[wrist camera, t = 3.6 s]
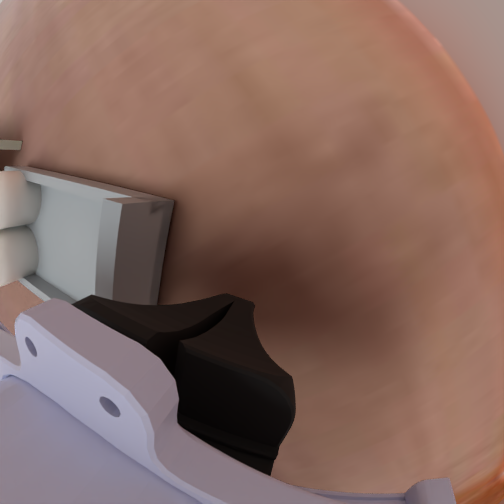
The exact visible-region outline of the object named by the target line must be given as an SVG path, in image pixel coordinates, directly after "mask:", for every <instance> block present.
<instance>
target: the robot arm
mask: <svg viewBox="0 0 504 504" xmlns="http://www.w3.org/2000/svg"><path fill="white" fill-rule="evenodd" d="M254 308H255V305H254V303H253V302H251V301H248V300H245V299H242V298H239V297H236V296H233V295H230V294H227V293H226V294H221V295H217V296H213V297H210V298H206V299H202V300H198V301H193V302H187V303H182V304H173V305H141V304H132V303H125V302H119V301H114V300H110V299H107V298H103V297H99V296H95V295H92V294H91V295H89V296H87V297H85V298H83V299H81V300H79V301H77V302H75V303H73V304H69V303H68V302H66V301H63V300H60V299H56V298H52V299H50V300H48V301H46V302H43V303H41V304H39V305H37V306H34V307H32V308H30V309H28V310H26V311H23V312H21V313H20V314H19V316H18V317H17V318H16V320H15V336H14V335H13V334H12V333H11V332H10V331H9V330H8V329H7V328H6V327H5V326H4V325H3V324H2V323H1V322H0V504H456V501H455V497H454V493H453V490H452V486H451V482H450V479H449V478H438V479H427V480H422V481H420V482H418V483H416V484H414V485H413V486H412V487H411V488H409V489H408V490H407V491H406V492H405V493H395V494H368V493H348V492H336V491H327V490H319V489H312V488H306V487H300V486H294V485H290V484H287V483H285V482H282V481H280V480H278V479H275V478H273V477H271V476H270V475H271V471H272V467H273V463H274V460H275V459H276V457H277V455H278V450H279V446H280V444H281V443H282V441H283V440H284V438H285V436H286V435H287V433H288V431H289V430H290V428H291V426H292V424H293V421H294V418H295V410H296V403H295V390H294V384H293V379H292V376H291V375H289V374H288V373H287V372H285V371H284V370H283V369H282V368H280V367H279V366H278V365H277V364H276V363H275V362H274V361H273V360H272V359H271V358H270V357H269V355H268V354H267V353H266V351H265V350H264V348H263V347H262V345H261V343H260V341H259V338H258V336H257V333H256V329H255V325H254V318H253V311H254Z"/></svg>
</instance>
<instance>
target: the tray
mask: <svg viewBox="0 0 504 504" xmlns="http://www.w3.org/2000/svg"><path fill="white" fill-rule="evenodd" d="M173 205H174V200H170V199H166V198H162V197H158V196H155V195H151V194H147V193H143V192H139V191H134V190H130V189H126V188H122V187H118V186H114V185H110V184H105V183H101V182H97V181H93V180H88V179H84V178H79V177H75V176H70V175H66V174H61V173H57V172H52V171H47V170H43V169H38V168H33V167H28V166H5V168H4V171H0V287H1V286H4V285H6V284H9V283H12V282H15V281H19V282H20V283H22V284H23V285H24V286H25V287H27V288H28V289H29V290H30V291H32V292H33V293H34V294H35V295H37V296H38V297H39V298H41V299H42V300H43V301H45V302H46V301H48V300H50V299H52V298H56V299H60V300H63V301H66V302H68V303H69V304H73V303H75V302H77V301H79V300H81V299H83V298H85V297H87V296H89V295H91V294H92V295H95V296H99V297H103V298H107V299H110V300H114V301H119V302H125V303H132V304H141V305H157V302H158V294H159V286H160V279H161V272H162V266H163V259H164V253H165V247H166V242H167V236H168V230H169V225H170V220H171V215H172V210H173Z"/></svg>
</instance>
